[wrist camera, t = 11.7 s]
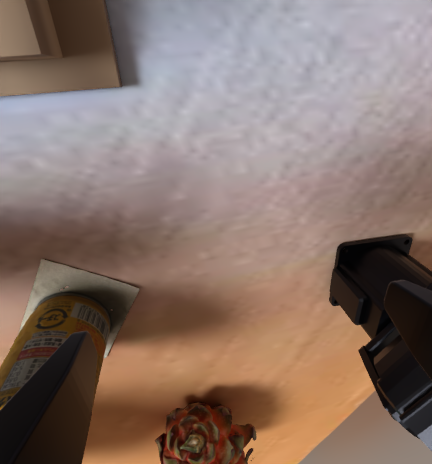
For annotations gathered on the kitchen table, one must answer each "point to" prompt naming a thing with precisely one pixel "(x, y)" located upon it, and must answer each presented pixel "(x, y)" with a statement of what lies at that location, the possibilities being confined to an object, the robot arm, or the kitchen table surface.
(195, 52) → the kitchen table surface
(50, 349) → the condiment
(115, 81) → the block
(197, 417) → the dragon fruit
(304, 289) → the kitchen table surface
